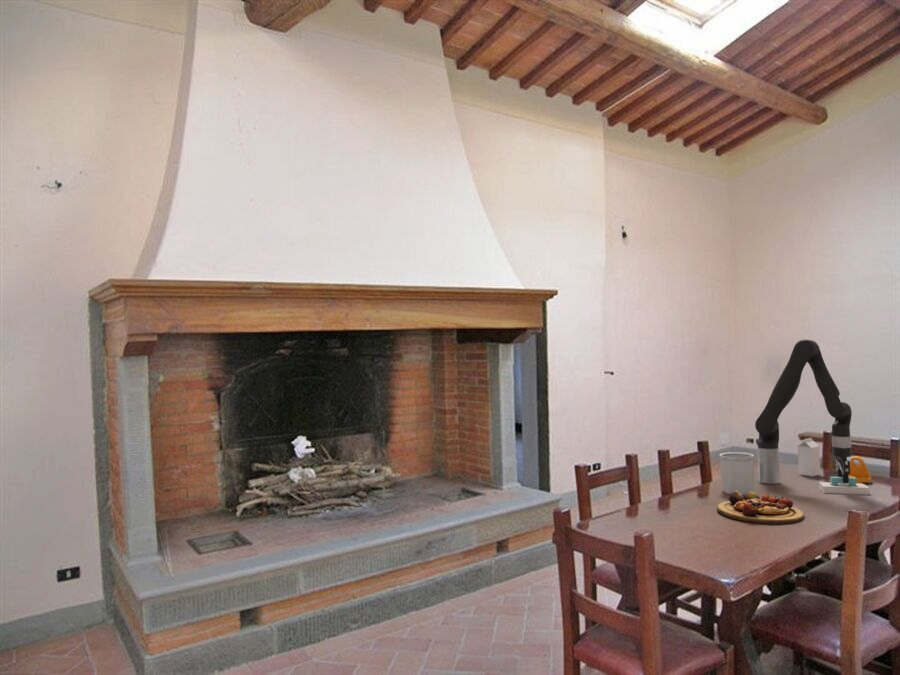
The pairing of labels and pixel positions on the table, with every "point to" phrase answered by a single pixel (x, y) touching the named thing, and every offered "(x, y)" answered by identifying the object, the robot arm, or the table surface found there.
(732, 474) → the utensil holder
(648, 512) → the table surface
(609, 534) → the table surface
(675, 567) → the table surface
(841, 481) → the teal block
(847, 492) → the white slotted board
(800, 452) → the milk carton
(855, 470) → the bracket
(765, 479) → the robot arm
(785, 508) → the wooden plate with food
